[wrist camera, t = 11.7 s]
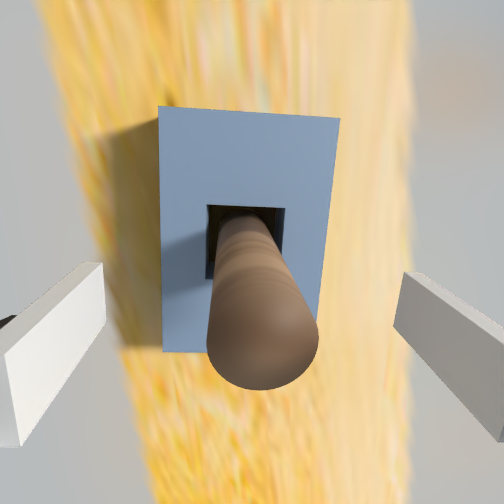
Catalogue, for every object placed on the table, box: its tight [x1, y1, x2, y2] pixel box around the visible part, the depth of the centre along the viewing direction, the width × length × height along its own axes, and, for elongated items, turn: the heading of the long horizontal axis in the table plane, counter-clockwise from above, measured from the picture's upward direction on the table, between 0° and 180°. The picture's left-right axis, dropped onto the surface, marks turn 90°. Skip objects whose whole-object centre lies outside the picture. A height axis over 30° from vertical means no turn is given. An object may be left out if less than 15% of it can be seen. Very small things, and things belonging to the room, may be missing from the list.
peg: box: [206, 208, 319, 390], centre depth 21 cm, size 4×4×18 cm
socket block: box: [158, 106, 340, 353], centre depth 27 cm, size 18×12×4 cm, turn 178°
